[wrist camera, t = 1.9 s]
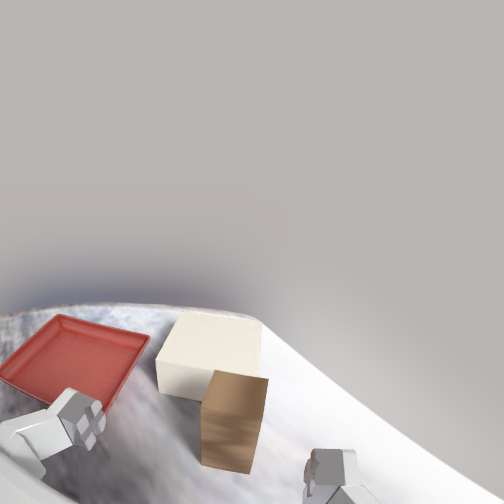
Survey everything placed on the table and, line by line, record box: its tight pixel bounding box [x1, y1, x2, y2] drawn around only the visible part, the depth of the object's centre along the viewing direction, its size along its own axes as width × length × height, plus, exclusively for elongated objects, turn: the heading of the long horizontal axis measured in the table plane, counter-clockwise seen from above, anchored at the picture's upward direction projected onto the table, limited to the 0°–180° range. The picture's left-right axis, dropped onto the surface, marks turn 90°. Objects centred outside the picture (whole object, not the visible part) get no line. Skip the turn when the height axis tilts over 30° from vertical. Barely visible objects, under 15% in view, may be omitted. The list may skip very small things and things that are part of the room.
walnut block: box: [200, 370, 269, 474], centre depth 25 cm, size 5×5×10 cm
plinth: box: [155, 311, 262, 401], centre depth 39 cm, size 12×12×6 cm
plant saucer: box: [0, 314, 151, 416], centre depth 33 cm, size 18×18×3 cm
